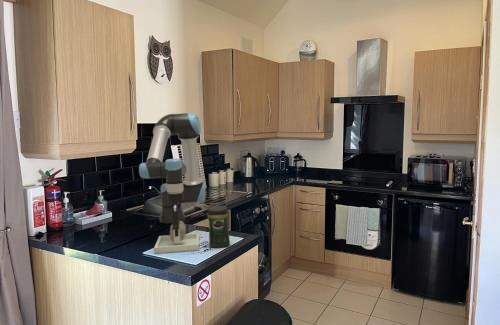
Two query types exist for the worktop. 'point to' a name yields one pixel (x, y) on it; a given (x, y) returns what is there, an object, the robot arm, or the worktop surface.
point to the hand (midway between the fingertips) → (178, 240)
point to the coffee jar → (218, 226)
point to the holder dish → (177, 244)
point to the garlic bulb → (182, 231)
